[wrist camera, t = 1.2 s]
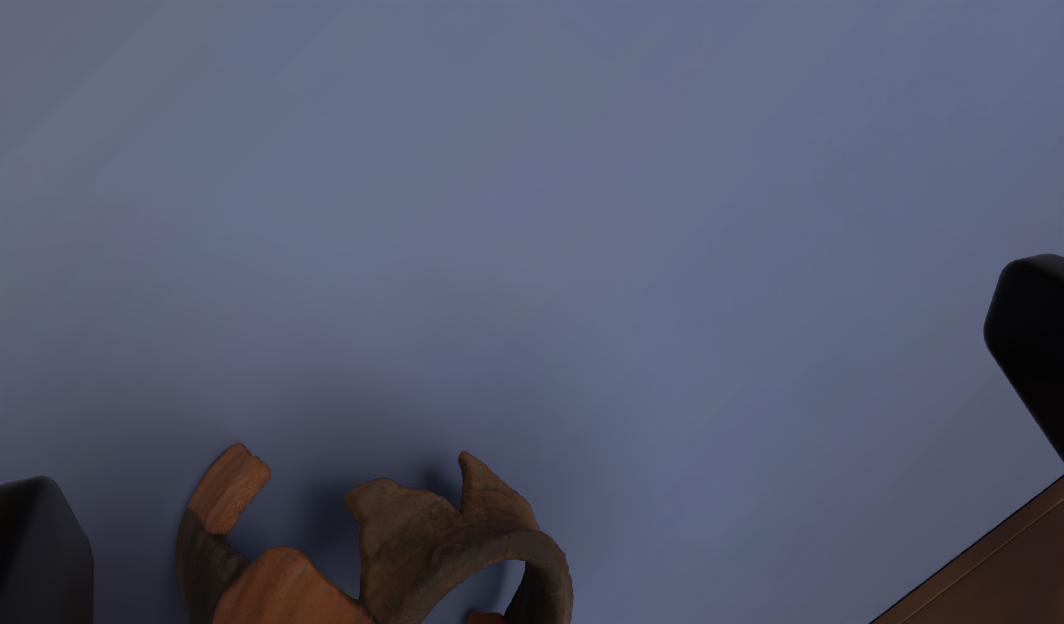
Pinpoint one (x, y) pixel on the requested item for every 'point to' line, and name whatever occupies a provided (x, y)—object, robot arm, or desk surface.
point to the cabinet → (999, 574)
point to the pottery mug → (368, 554)
